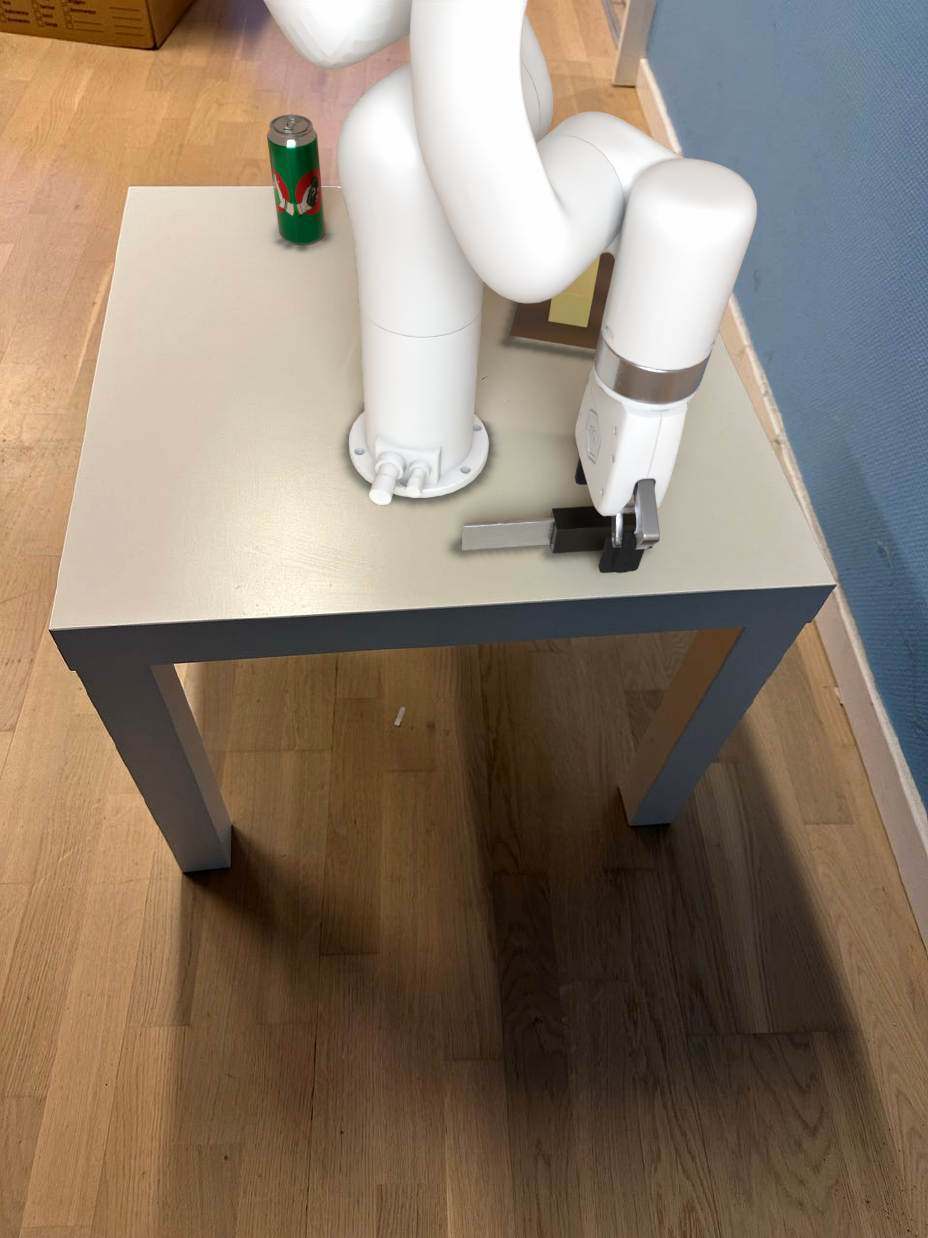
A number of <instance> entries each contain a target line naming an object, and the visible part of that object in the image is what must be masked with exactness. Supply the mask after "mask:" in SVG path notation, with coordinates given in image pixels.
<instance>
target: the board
mask: <svg viewBox="0 0 928 1238" xmlns="http://www.w3.org/2000/svg"><path fill="white" fill-rule="evenodd" d="M614 263H615V258H614V256H613V255H612V254H611V253H608V252H606V253H602V254H601V255H600V260H599V265H598V271H597V276H596V282H595V287H594V293H593V299H592V304H591V309H590V314H589V319H588V324H587V327H581V326H575V325H569V324H563V323H557V322H550V321H548V319H549V313H550V306H551V299H552V298H551V299H548V300H545V301H542V302H539V303H519V302H517V304H516V309H515V314H514V317H513V321H512V324H511V328H510V332H509V336H510V337H516V338H520V339H526V340H534V341H540V342H547V343H552V344H558V345H565V346H569V347H576V348H577V347H578V348H583V349H588V350H595V351H596V348H597V343H598V338H599V334H600V329H601V324H602V319H603V315H604V310H605V305H606V301H607V296H608V291H609V287H610V282H611V277H612V273H613V268H614Z"/></svg>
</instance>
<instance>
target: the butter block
mask: <svg viewBox="0 0 928 1238" xmlns="http://www.w3.org/2000/svg"><path fill="white" fill-rule="evenodd" d="M599 260H600V256H599V257H598V258H597V259H596V260H595V261H594V262H593V263H592V264H591V265H590V266H589V267H588V268H587V270H586V271H585V272H583V273H582V274H581V275H580V276H579V277H578V278H577V279H576V280H575V281H574V282H573V283H572V284H571V285H570V286H569V287H568V288H567V289H566V290H564V291H563V292H562V293H560V294H559V295H557V296H555V297H553V298H552V299H551V306H550V313H549V319H548V321H550V322H557V323H563V324H569V325H575V326H581V327H587V324H588V319H589V314H590V309H591V304H592V299H593V293H594V287H595V282H596V276H597V271H598V265H599Z"/></svg>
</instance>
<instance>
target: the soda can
mask: <svg viewBox="0 0 928 1238" xmlns="http://www.w3.org/2000/svg"><path fill="white" fill-rule="evenodd" d="M268 126H269V130H268V132H267V134H266V139H267V140H266V141H267V148H268V157H269V163H270V169H271V179H272V187H273V194H274V203H275V211H276V217H277V226H278V233H279V235H280V236H281V238H283V239H284V241H286V242H288V243H289V244H292V245H295V246H308V245H312V244H315V243H317V242H318V241H320V239H322V237H323V236H324V235H325V233H326V227H325V226H326V225H325V213H324V202H323V191H322V190H323V189H322V180H321V179H322V178H321V165H320V154H319V141H318V133H317V131H316V130H315V128H314V125H313V122H312V120H311V119H310V118H308V117H306V116H303V115H300V114H283V115H279V116H276V117H274V118H273V119H272V120H271V121H270V122H269V125H268Z"/></svg>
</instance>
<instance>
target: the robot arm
mask: <svg viewBox="0 0 928 1238" xmlns="http://www.w3.org/2000/svg"><path fill="white" fill-rule="evenodd" d="M263 2H264V4H265V5H266V8H267V10H268V11H269V13H270V14H271V16H272V18H273V19H274V21H275V23H276V24H277V26H278V28H279V30H280V31H281V33H282V34H283V35H284V37H285V38H286V40H287V41H288V42H289V44H290V45H291V47H292V48H293V49H294V50H295V51H296V52H297V53H298V54H299V55H300V56H301V57H302V58H303V59H304V60H305V61H306V62H307V63H310V64H312V65H314V66H316V67H318V68H321V69H324V70H337V69H338V70H339V69H343V68H348V67H351V66H353V65H356V64H358V63H360V62H362V61H364V60H366V59H368V58H370V57H372V56H374V55H375V54H377V53H379V52H381V51H383V50H384V49H386V48H388V47H390V46H391V45H393V44H394V43H397V42H398V41H400V40H402V39H403V40H404V42H405V44H406V46H407V48H408V50H409V61H407V62H406V63H405V64H403V65H401V66H400V67H397V69H395V70H393V71H392V72H391V73H388V74H387V75H386V76H385V77H383V78H381V79H380V80H379V81H378V82H375V84H373V85H372V86H371V87H370V88H369V89H367V90H366V92H364V94H362V95H361V96H360V98H359V99H358V100H357V101H356V102H355V103H354V105H353V106H352V107H351V109H350V110H349V111H348V113H347V115H346V117H345V119H344V121H343V123H342V124H341V128H340V130H339V134H338V137H337V142H336V143H337V144H336V151H335V158H336V159H335V161H336V163H335V164H336V171H337V177H338V181H339V185H340V191H341V194H342V197H343V200H344V205H345V209H346V213H347V216H348V220H349V225H350V231H351V236H352V241H353V248H354V250H353V251H354V255H355V257H354V259H355V266H356V267H355V268H356V282H357V298H358V299H357V300H358V301H357V302H358V311H359V329H360V330H359V331H360V333H359V334H360V350H361V370H362V371H361V372H362V390H363V406H364V407H363V408H364V410H363V411H362V412H361V413H360V414H359V415H358V416H357V418H356V419H355V421H354V422H353V423H352V425H351V428H350V431H349V433H348V451H349V452H348V453H349V456H350V459H351V463H352V465H353V466H354V468H355V470H356V471H357V473H359V475H360V476H362V478H363V479H364V480H365V481H367V482H368V483H369V484H371V486H370V490H369V492H368V497H369V499H370V501H371V502H372V503H374V504H375V505H379V506H388V505H389V504H391V502H392V499H393V496H394V495H395V496H399V497H404V498H405V497H406V498H412V499H418V498H419V499H424V498H425V499H426V498H427V499H428V498H434V497H442V496H444V495H449V494H452V493H454V492H457V491H458V490H460V489H462V488H465V487H467V486H468V485H469V484H470V483H472V482H473V481H474V480H475V479H476V478H477V477H478V476H479V475H480V474H481V473H482V472H483V469H484V468H485V465H486V464H487V460H488V456H489V451H490V450H489V448H490V440H489V434H488V430H487V428H486V427H485V424H484V423H483V422H482V420H481V419H480V418H479V416H478V415H477V414H476V413H475V408H476V393H477V383H478V382H477V381H478V368H479V356H480V355H479V354H480V344H481V342H480V341H481V331H482V330H481V328H482V317H483V304H484V290H485V289H484V288H485V285H487V286H488V287H489V288H490V290H492V291H493V292H495V293H497V294H498V295H499V296H501V297H503V298H505V299H507V300H510V301H512V302H515V303H518V302H519V303H539V302H542V301H545V300H548V299H551V298H553V297H555V296H557V295H559V294H560V293H562V292H563V291H564V290H566V289H567V288H568V287H569V286H570V285H571V284H572V283H573V282H574V281H575V280H576V279H577V278H578V277H579V276H580V275H581V274H582V273H583V272H585V271H586V270H587V268H588V267H589V266H590V265H591V264H592V263H593V262H594V261H595V260H596V259H597V258H598V257H599V256H600V255H601V254H602V253H606V252H608V253H611V254H612V255H613V256H614V258H615V263H614V268H613V273H612V277H611V282H610V287H609V291H608V296H607V301H606V305H605V310H604V315H603V319H602V324H601V329H600V334H599V338H598V343H597V348H596V350H595V351H594V352H595V353H594V357H593V362H592V366H591V369H590V372H589V375H588V378H587V382H586V385H585V389H584V392H583V396H582V400H581V404H580V408H579V411H578V415H577V419H576V422H575V423H576V424H575V430H574V433H575V435H574V436H575V443H576V447H577V451H578V455H579V456H578V461H577V466H576V470H575V474H574V482H575V484H577V485H578V486H587V488H588V491H589V494H590V498H591V501H592V504H593V506H595V508H596V510H597V511H598V512H599V513H600V514H601V515H603V516H612V535H609V536H607V537H606V540H605V544H604V547H603V550H601V555H600V558H599V562H598V570H599V573H601V574H609V573H610V574H611V573H617V574H624V573H628V572H635V571H637V570H638V569H639V567H640V564H641V561H642V558H643V556H644V554H645V553H644V552H645V550H647V549H650V550H651V549H653V547H654V545H656V544H657V543H659V542H660V538H661V534H660V533H661V532H660V531H661V530H660V523H659V514H658V509H659V508H660V507H661V506H662V504H663V501H664V498H665V496H666V494H667V491H668V488H669V485H670V482H671V479H672V476H673V472H674V469H675V466H676V461H677V458H678V455H679V450H680V446H681V443H682V437H683V433H684V428H685V423H686V419H687V414H688V405H689V402H690V401H692V400H693V399H694V397H696V395H697V393H698V392H699V390H700V387H701V383H702V381H703V378H704V375H705V372H706V369H707V366H708V364H709V360H710V357H711V355H712V352H713V349H714V346H715V343H716V339H717V338H718V334H719V331H720V328H721V326H722V322H723V320H724V316H725V314H726V310H727V308H728V306H729V302H730V299H731V296H732V293H733V290H734V287H735V284H736V282H737V279H738V276H739V273H740V269H741V267H742V264H743V261H744V259H745V256H746V253H747V250H748V247H749V245H750V241H751V238H752V235H753V232H754V229H755V224H756V222H757V215H758V203H757V199H756V196H755V193H754V190H753V188H752V187H751V186H750V184H749V183H748V182H747V180H745V179H744V178H743V177H742V176H741V175H740V174H739V173H737V172H736V171H735V170H733V169H731V168H728V167H726V166H724V165H721V164H719V163H716V162H713V161H710V160H705V159H697V158H687V157H685V156H682V155H681V154H679V153H678V152H676V151H674V150H672V149H670V148H669V147H667V146H666V145H664V144H663V143H661V142H659V141H658V140H656V139H654V138H653V137H652V136H650V135H649V134H647V133H646V132H644V131H643V130H641V129H639V128H638V127H636V126H635V125H633V124H631V123H630V122H628V121H626V120H625V119H622V118H621V117H618V116H616V115H613V114H610V113H607V112H604V111H603V112H602V111H596V110H590V111H582V112H579V113H576V114H574V115H571V116H569V117H567V118H566V119H564V120H562V121H561V122H560V123H558V125H556V126H555V127H554V128H553V129H552V130H551V131H550V129H551V125H552V121H553V117H554V101H555V100H554V99H555V98H554V89H553V83H552V78H551V75H550V70H549V67H548V63H547V60H546V58H545V55H544V52H543V50H542V47H541V45H540V42H539V39H538V38H537V35H536V33H535V31H534V28H533V26H532V24H531V21H530V19H529V17H528V15H527V12H526V10H527V6H528V2H529V0H263ZM632 497H633V500H634V501H633V503H635V504H633V503H630V501H631V500H632ZM634 513H636V520H637V528H636V530H624V531H623V514H634Z"/></svg>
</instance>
